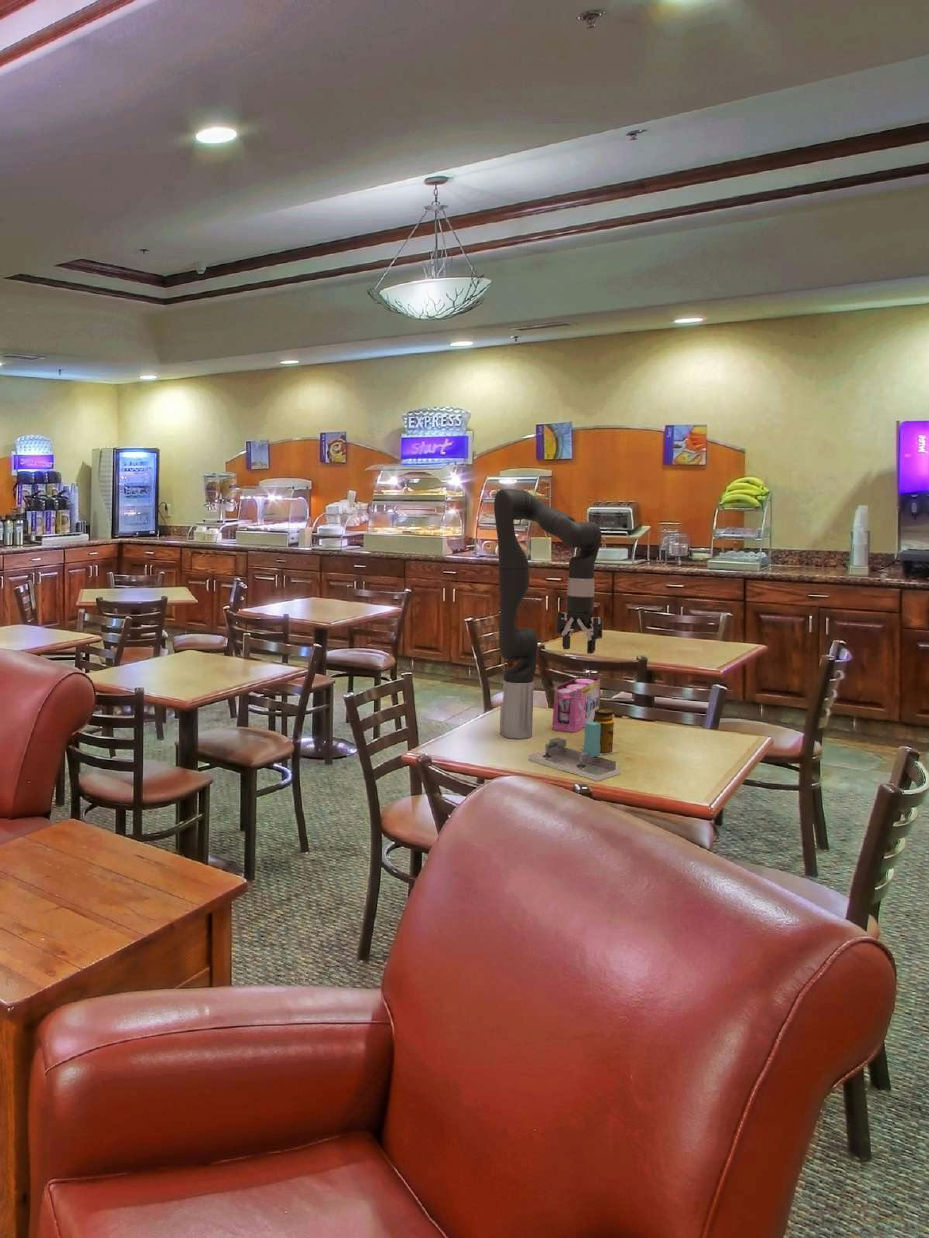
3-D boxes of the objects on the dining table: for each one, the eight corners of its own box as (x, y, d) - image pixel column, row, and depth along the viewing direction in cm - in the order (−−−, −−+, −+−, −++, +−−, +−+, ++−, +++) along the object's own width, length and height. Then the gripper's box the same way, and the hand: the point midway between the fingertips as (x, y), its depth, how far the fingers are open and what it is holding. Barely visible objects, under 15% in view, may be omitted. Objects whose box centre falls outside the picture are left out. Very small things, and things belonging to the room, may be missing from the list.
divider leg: (575, 763, 239) (577, 725, 237) (590, 759, 243) (592, 721, 242) (584, 766, 237) (585, 727, 235) (599, 761, 241) (601, 723, 240)
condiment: (618, 751, 258) (620, 711, 256) (596, 756, 253) (598, 715, 252) (601, 745, 264) (603, 706, 262) (580, 749, 259) (581, 709, 258)
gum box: (573, 734, 276) (575, 691, 274) (549, 730, 280) (551, 688, 278) (599, 718, 297) (601, 678, 295) (577, 715, 301) (578, 675, 299)
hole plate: (528, 760, 248) (529, 741, 247) (552, 753, 254) (552, 735, 254) (597, 781, 231) (598, 760, 230) (620, 773, 237) (621, 753, 237)
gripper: (552, 592, 250) (550, 649, 252) (592, 597, 240) (590, 656, 242) (569, 590, 255) (567, 646, 257) (609, 595, 245) (607, 653, 247)
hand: (578, 651), depth 250 cm, fingers open, 8 cm apart
